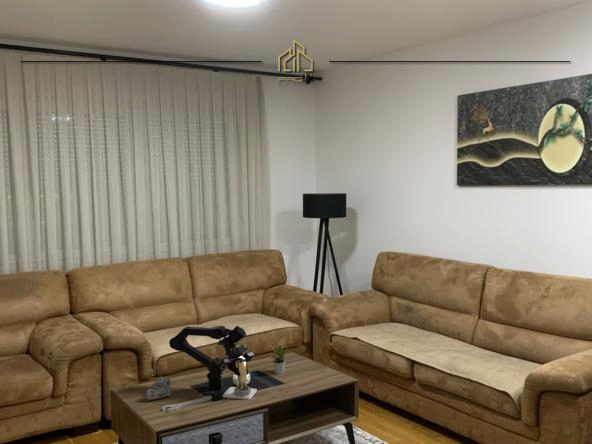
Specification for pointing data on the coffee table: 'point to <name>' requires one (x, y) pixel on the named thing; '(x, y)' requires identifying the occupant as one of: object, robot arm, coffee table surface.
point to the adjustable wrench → (184, 404)
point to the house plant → (278, 359)
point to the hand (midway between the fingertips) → (243, 374)
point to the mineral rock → (159, 389)
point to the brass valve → (242, 374)
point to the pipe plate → (239, 393)
